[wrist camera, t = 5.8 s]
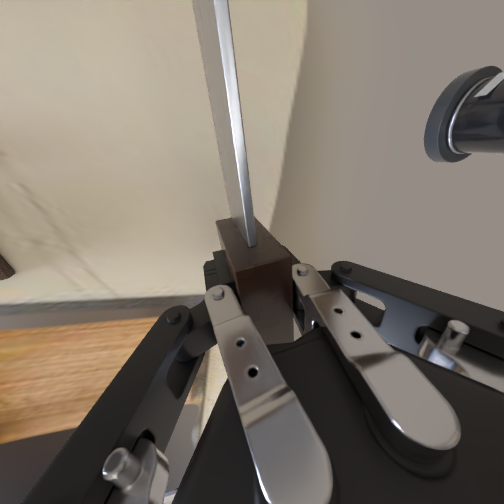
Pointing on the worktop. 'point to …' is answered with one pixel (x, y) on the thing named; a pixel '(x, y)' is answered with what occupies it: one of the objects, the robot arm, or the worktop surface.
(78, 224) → the worktop surface
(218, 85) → the knife
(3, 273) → the butter board
